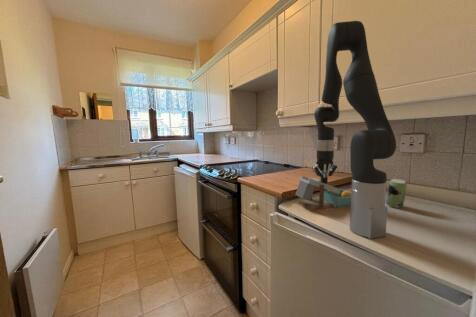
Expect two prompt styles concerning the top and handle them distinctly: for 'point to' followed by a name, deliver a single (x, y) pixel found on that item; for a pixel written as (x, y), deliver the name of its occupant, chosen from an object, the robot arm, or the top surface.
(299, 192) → the chute
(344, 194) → the ball
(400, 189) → the beverage can
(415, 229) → the top surface
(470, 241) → the top surface
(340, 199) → the teal square tray
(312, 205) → the stand
